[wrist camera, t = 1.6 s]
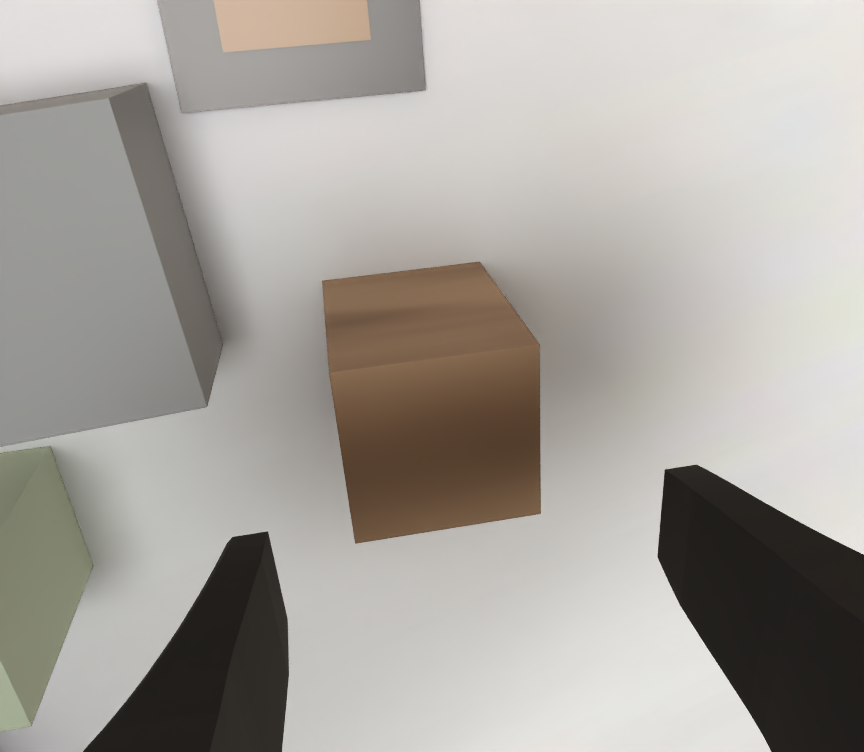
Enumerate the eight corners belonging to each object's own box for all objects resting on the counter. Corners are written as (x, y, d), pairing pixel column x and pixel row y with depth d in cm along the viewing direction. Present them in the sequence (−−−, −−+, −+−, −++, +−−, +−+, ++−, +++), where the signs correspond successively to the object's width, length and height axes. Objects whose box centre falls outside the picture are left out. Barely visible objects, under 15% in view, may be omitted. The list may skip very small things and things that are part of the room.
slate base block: (223, 340, 21) (206, 406, 17) (-27, 387, 20) (-96, 465, 17) (147, 82, 18) (108, 98, 14) (-152, 128, 17) (-270, 158, 14)
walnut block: (485, 399, 23) (540, 513, 18) (342, 419, 22) (355, 543, 17) (479, 261, 21) (539, 344, 16) (322, 280, 20) (329, 372, 15)
